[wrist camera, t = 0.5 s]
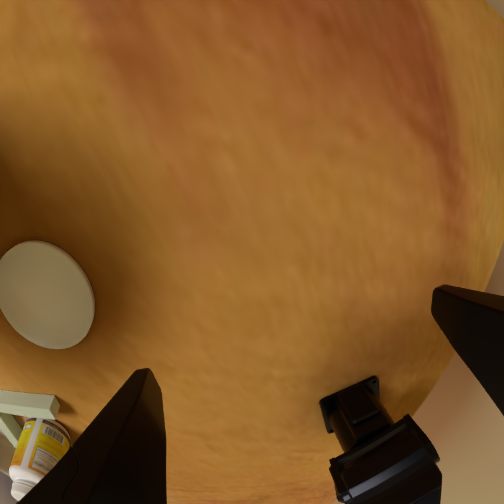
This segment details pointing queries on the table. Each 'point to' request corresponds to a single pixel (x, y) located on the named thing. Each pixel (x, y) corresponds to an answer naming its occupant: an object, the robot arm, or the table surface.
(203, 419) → the table surface
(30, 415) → the pale green u-shaped bracket
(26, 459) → the supplement bottle
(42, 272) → the coaster
